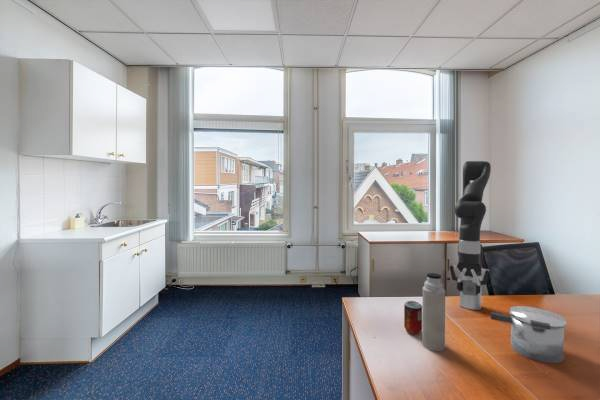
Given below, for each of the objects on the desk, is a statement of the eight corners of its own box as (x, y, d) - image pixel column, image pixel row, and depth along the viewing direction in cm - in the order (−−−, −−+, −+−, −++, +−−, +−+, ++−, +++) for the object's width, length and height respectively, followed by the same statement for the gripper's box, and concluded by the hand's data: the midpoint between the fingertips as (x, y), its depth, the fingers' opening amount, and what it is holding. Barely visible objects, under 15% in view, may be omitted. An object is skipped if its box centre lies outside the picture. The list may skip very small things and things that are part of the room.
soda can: (424, 330, 120) (424, 302, 120) (418, 337, 115) (419, 308, 114) (407, 325, 125) (407, 298, 124) (401, 332, 119) (401, 303, 119)
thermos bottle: (421, 338, 114) (421, 270, 113) (443, 341, 111) (443, 272, 110) (423, 349, 106) (423, 276, 105) (446, 353, 104) (447, 278, 103)
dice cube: (477, 295, 111) (477, 283, 111) (463, 294, 112) (463, 282, 112) (473, 291, 116) (473, 279, 115) (460, 290, 117) (460, 278, 117)
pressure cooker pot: (490, 348, 106) (491, 317, 106) (490, 330, 120) (490, 302, 120) (567, 368, 94) (568, 333, 94) (557, 345, 108) (558, 315, 108)
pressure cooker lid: (511, 322, 100) (511, 318, 100) (508, 306, 115) (508, 303, 115) (572, 335, 91) (572, 330, 91) (560, 316, 106) (561, 312, 106)
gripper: (447, 250, 113) (447, 291, 114) (490, 255, 105) (490, 299, 106) (450, 247, 119) (449, 286, 120) (490, 251, 111) (490, 293, 112)
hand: (468, 292), depth 113 cm, fingers closed on dice cube, 5 cm apart
